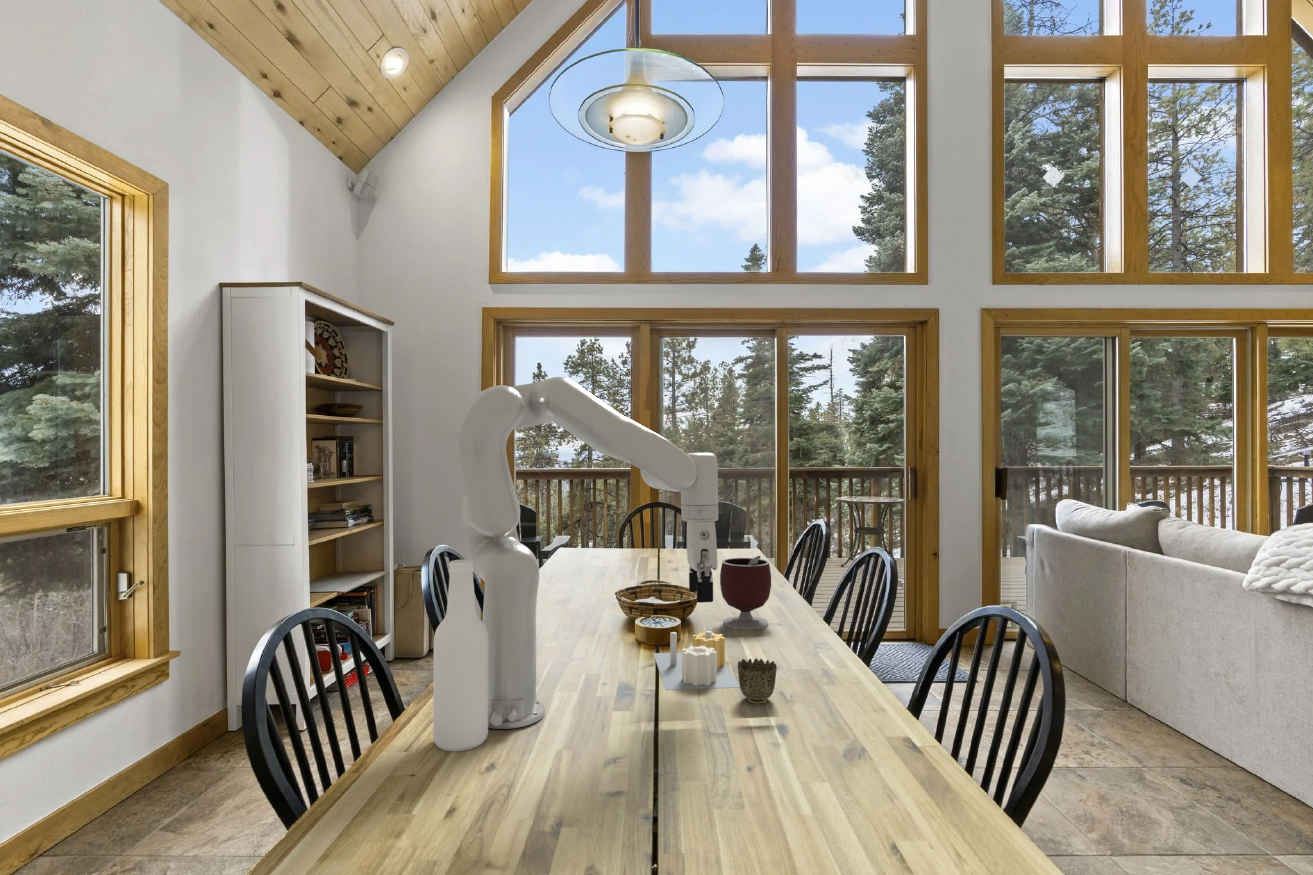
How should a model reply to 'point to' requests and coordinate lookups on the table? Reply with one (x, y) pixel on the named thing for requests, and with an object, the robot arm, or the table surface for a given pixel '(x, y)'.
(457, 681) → the alcohol
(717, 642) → the ochre gear
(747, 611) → the mate gourd
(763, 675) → the cup
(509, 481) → the robot arm
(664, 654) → the gear board
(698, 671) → the cream gear
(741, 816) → the table surface
